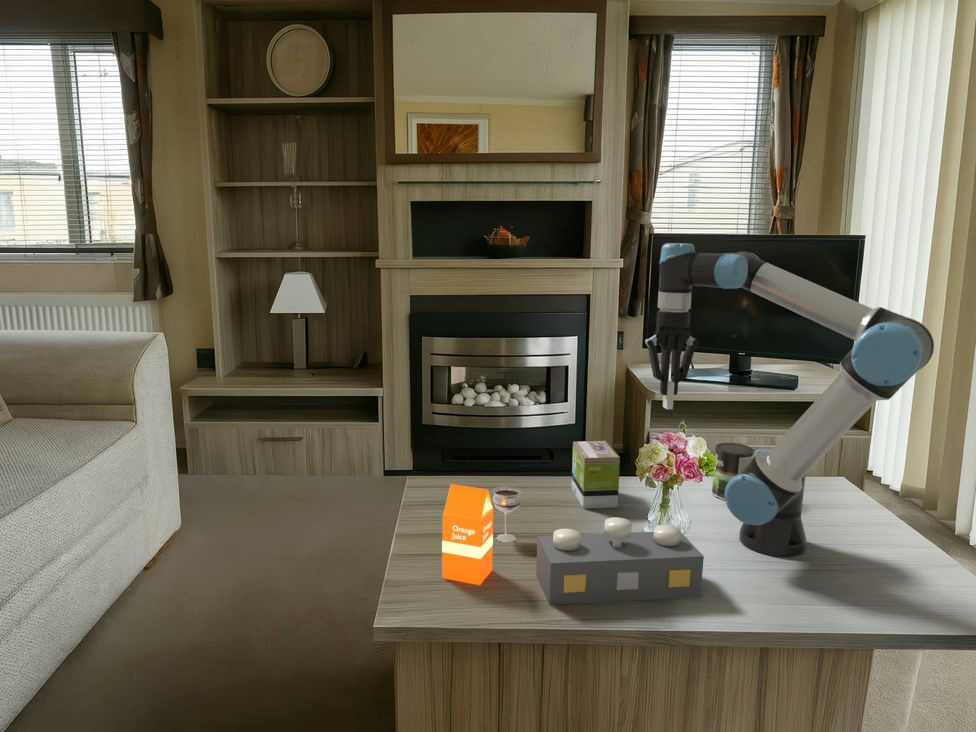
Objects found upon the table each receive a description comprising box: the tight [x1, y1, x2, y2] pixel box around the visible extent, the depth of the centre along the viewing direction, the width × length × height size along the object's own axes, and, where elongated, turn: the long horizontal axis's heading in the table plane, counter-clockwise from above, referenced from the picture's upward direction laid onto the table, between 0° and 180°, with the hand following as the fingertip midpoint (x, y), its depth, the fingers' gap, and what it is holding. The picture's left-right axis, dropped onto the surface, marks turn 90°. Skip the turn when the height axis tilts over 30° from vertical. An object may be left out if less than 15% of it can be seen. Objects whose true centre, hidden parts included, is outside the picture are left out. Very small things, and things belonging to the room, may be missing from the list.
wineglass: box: [492, 485, 522, 543], centre depth 182 cm, size 7×7×12 cm
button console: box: [535, 531, 705, 606], centre depth 160 cm, size 32×13×9 cm, turn 98°
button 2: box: [653, 524, 682, 546], centre depth 162 cm, size 6×6×7 cm
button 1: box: [552, 528, 581, 551], centre depth 159 cm, size 6×6×7 cm
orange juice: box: [441, 483, 494, 586], centre depth 163 cm, size 8×9×20 cm
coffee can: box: [711, 442, 755, 501], centre depth 214 cm, size 10×10×14 cm
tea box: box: [571, 440, 621, 510], centre depth 209 cm, size 15×10×15 cm
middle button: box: [603, 516, 633, 547], centre depth 160 cm, size 6×6×7 cm
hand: (667, 407), depth 181 cm, fingers closed
